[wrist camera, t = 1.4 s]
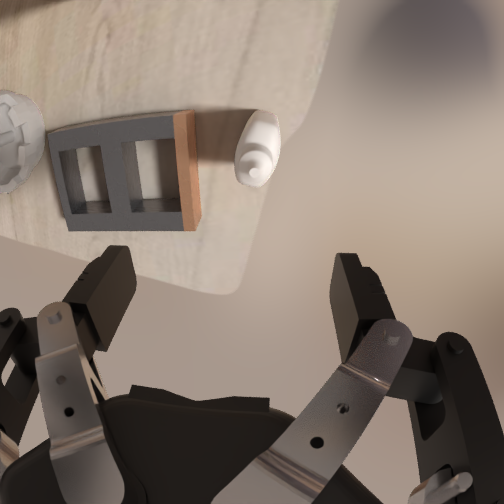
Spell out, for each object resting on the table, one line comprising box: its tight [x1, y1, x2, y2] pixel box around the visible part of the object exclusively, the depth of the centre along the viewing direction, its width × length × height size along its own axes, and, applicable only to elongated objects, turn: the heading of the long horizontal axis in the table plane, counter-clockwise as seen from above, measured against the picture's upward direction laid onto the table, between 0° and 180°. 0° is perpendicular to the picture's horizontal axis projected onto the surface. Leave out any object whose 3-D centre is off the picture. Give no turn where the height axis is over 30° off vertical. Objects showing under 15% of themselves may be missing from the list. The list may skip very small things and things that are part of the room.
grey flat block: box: [47, 110, 202, 231], centre depth 31 cm, size 12×16×4 cm
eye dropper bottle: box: [234, 110, 281, 187], centre depth 25 cm, size 4×6×12 cm
